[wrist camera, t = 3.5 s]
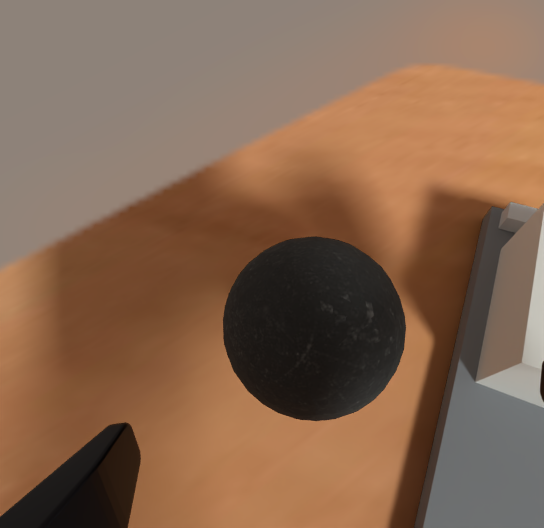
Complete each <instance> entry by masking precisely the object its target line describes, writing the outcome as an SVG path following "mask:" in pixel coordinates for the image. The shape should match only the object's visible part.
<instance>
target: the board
mask: <svg viewBox="0 0 544 528" xmlns="http://www.w3.org/2000/svg"><path fill="white" fill-rule="evenodd" d="M543 361H544V204H543V205H542V206H541V207H540V208H539V209H537V208H533V207H529V206H525V205H521V204H517V203H513V202H510V203H509V204H508V206H507V207H506V208H505V209H501V208H497V207H493V206H492V207H491V209H490V210H489V211H488V213H487V214H486V215H485V217H484V218H483V221H482V226H481V230H480V235H479V239H478V244H477V248H476V253H475V257H474V262H473V266H472V271H471V275H470V280H469V284H468V289H467V293H466V297H465V302H464V306H463V311H462V315H461V320H460V324H459V329H458V333H457V338H456V342H455V347H454V351H453V356H452V360H451V365H450V369H449V374H448V378H447V382H446V387H445V391H444V396H443V400H442V405H441V409H440V414H439V418H438V423H437V427H436V432H435V436H434V441H433V445H432V450H431V454H430V459H429V463H428V467H427V472H426V476H425V481H424V485H423V490H422V494H421V499H420V503H419V508H418V512H417V517H416V521H415V526H414V528H544V402H543V400H542V398H541V395H540V382H541V369H542V363H543Z"/></svg>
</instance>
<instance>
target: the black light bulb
mask: <svg viewBox="0 0 544 528" xmlns="http://www.w3.org/2000/svg"><path fill="white" fill-rule="evenodd" d="M405 331H406V325H405V316H404V312H403V308H402V305H401V301H400V298H399V295H398V293H397V291H396V289H395V288H394V286H393V283H392V281H391V279H390V278H389V277H388V275H387V274H386V272H385V271H384V270H383V268H382V267H381V266H380V265H379V264H377V263H376V262H375V261H374V260H373V259H372V258H370V257H369V256H368V255H366V254H365V253H363V252H362V251H360V250H358V249H357V248H355V247H354V246H352V245H350V244H348V243H345V242H342V241H339V240H335V239H329V238H322V237H305V238H297V239H290V240H286V241H284V242H281V243H278V244H276V245H274V246H272V247H270V248H268V249H266V250H264V251H263V252H262V253H261V254H259V255H258V256H257V257H256V258H254V259H253V260H252V261H250V262H249V263H248V264H247V266H246V267H245V268H244V269H243V270H242V271H241V273H240V274H239V275H238V277H237V279H236V281H235V283H234V285H233V286H232V288H231V290H230V293H229V295H228V299H227V302H226V305H225V310H224V317H223V332H224V345H225V348H226V351H227V355H228V358H229V360H230V362H231V365H232V368H233V370H234V372H235V373H236V375H237V376H238V378H239V379H240V380H241V382H242V383H243V385H244V386H245V387H246V389H247V390H248V391H249V392H250V393H251V394H252V395H253V396H254V397H255V398H257V399H258V400H259V401H260V402H261V403H262V404H264V405H266V406H267V407H269V408H271V409H272V410H274V411H276V412H278V413H280V414H283V415H286V416H289V417H292V418H295V419H300V420H312V421H320V420H330V419H336V418H339V417H342V416H345V415H348V414H351V413H354V412H356V411H358V410H360V409H361V408H363V407H364V406H366V405H367V404H369V403H370V402H372V401H373V400H374V399H375V398H376V397H377V396H378V395H379V394H380V393H381V392H382V391H383V390H384V389H385V387H386V385H387V384H388V382H389V381H390V379H391V378H392V376H393V375H394V373H395V372H396V370H397V367H398V365H399V362H400V359H401V356H402V353H403V350H404V342H405Z"/></svg>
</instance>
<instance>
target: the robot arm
mask: <svg viewBox="0 0 544 528" xmlns="http://www.w3.org/2000/svg"><path fill="white" fill-rule="evenodd" d="M540 395H541V398H542V400H543V402H544V361H543V363H542V369H541V382H540ZM140 461H141V455H140V450H139V447H138V444H137V441H136V438H135V435H134V432H133V430H132V427H131V425H130V424H129V423H126V422H125V423H118V424H112V425H109V426H108V427H106V428H105V429H104V430H103V431H102V432H100V433H99V434H98V435H97V436H96V437H94V438H93V439H92V440H91V441H90V442H88V443H87V444H86V445H85V446H84V447H83V448H81V449H80V450H79V451H78V452H77V453H75V454H74V455H73V456H72V457H71V458H69V459H68V460H67V461H66V462H65V463H64V464H62V465H61V466H60V467H59V468H58V469H56V470H55V471H54V472H53V473H52V474H50V475H49V476H48V477H47V478H46V479H45V480H43V481H42V482H41V483H40V484H39V485H37V486H36V487H35V488H34V489H33V490H31V491H30V492H29V493H28V494H27V495H26V496H24V497H23V498H22V499H21V500H20V501H18V502H17V503H16V504H15V505H14V506H12V507H11V508H10V509H9V510H8V511H7V512H5V513H4V514H3V515H2V516H1V517H0V528H128V523H129V518H130V513H131V508H132V503H133V498H134V493H135V488H136V482H137V477H138V472H139V467H140Z"/></svg>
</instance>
